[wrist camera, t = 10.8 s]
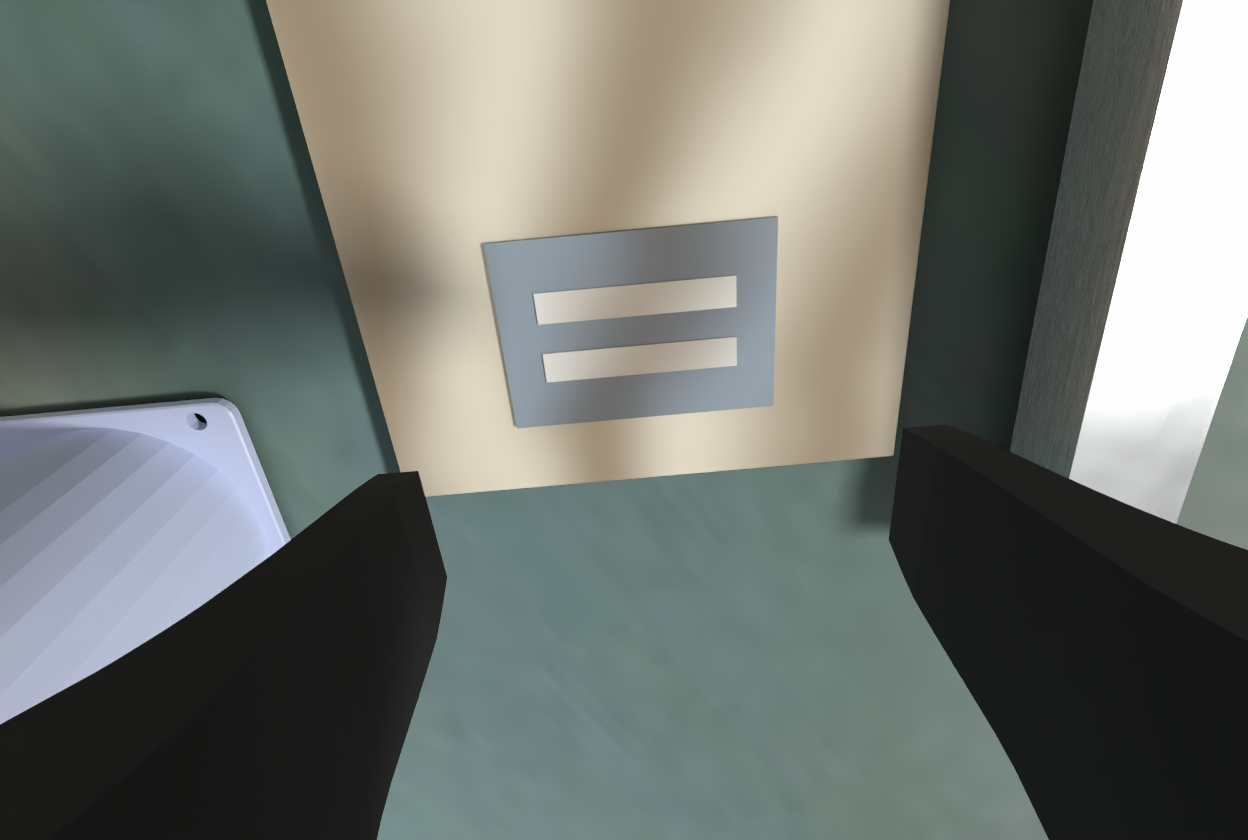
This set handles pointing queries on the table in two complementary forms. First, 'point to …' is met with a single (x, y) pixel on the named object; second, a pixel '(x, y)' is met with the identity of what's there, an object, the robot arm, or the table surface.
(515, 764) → the table surface
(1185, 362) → the light grey long piece
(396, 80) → the label board
